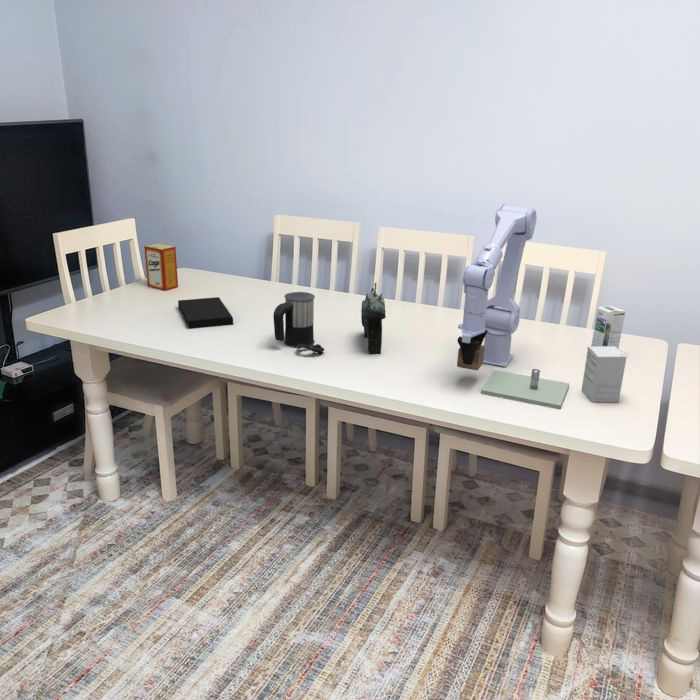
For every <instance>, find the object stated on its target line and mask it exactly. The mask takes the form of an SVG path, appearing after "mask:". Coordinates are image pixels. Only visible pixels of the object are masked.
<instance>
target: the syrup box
mask: <svg viewBox="0 0 700 700" xmlns="http://www.w3.org/2000/svg"><path fill="white" fill-rule="evenodd" d="M625 315H626V310H623V309H621V308H618V307H615V306H612V305H602V306H597V311H596V315H595V321H594V329H593V334H592V340H591V346H593V347H612V346H614V347H616V348H617V349H618V350H619V347H620V342H621V337H622V331H623V327H624V326H623V325H624V321H625Z"/></svg>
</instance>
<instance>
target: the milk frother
mask: <svg viewBox="0 0 700 700" xmlns="http://www.w3.org/2000/svg"><path fill="white" fill-rule="evenodd" d="M283 296H284V297H283V298H285V299H284V300H285V302H282V303H280V304H278V305H277V306H276V307H275V308H274V311H273V329H274V339H275V340H276V341H279V342H284V344H285V345H286V346H288V345H289V347H292V346H293V348H302V349H306V350H307V349H308V350H309V351H311V352H313V353H315V352H317V353H316V354H320V353H321V352H324V351H325V348H324V347H323V346H322V345H321V344H318V343H316V344H314V343H315V340H314V334H315V333H314V320H315V319H314V311H315V310H314V305H315V304H314V303H315V302H314V301H315V300H314V299H315V298H316V296H315V294H313V293H311V292H306V291H293V292H288V293H285V294H284V295H283ZM284 316H285V317H284ZM284 325H285V326H284Z"/></svg>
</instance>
